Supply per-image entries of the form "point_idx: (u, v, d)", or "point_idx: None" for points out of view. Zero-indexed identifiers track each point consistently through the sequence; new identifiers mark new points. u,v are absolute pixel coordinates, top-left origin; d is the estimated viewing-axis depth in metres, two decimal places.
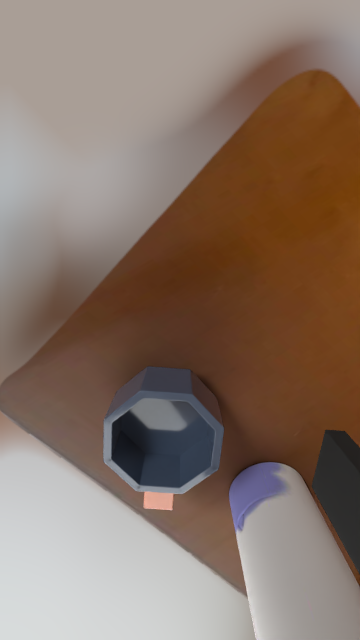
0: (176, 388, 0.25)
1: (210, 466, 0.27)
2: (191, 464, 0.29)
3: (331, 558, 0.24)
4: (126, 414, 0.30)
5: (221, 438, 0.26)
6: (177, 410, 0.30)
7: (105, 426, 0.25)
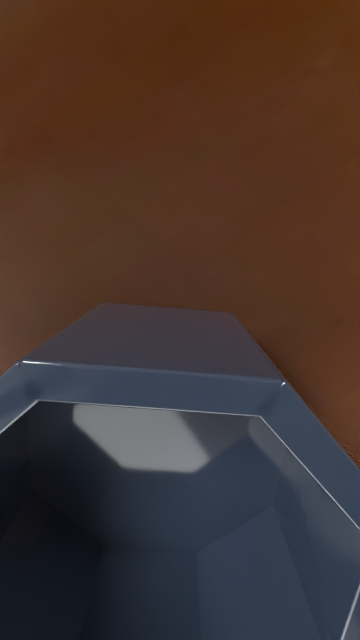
0: (200, 356, 0.06)
1: None
2: (239, 612, 0.09)
3: None
4: (42, 445, 0.10)
5: None
6: (192, 435, 0.10)
7: None
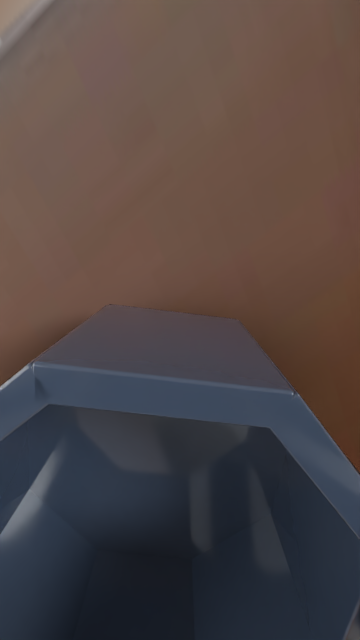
0: (211, 364, 0.05)
1: None
2: (234, 621, 0.09)
3: None
4: (41, 445, 0.10)
5: None
6: (193, 440, 0.10)
7: None
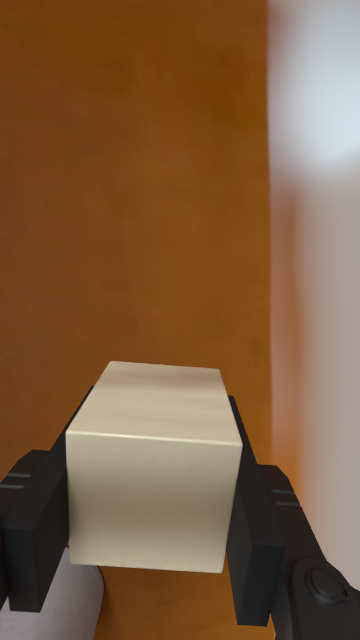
0: None
1: None
2: None
3: None
4: None
5: None
6: None
7: None
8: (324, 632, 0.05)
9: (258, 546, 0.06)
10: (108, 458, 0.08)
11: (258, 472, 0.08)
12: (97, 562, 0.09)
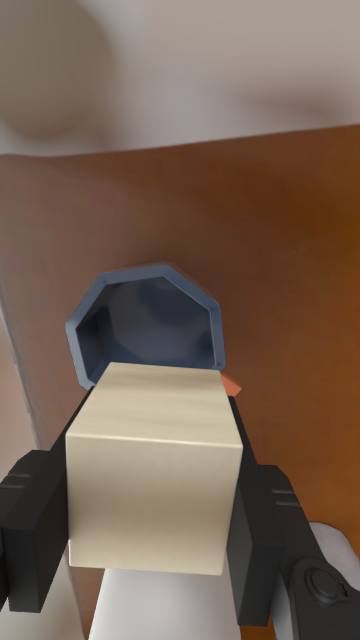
0: None
1: (210, 312, 0.19)
2: (210, 334, 0.22)
3: (228, 572, 0.20)
4: None
5: (178, 275, 0.19)
6: (152, 311, 0.24)
7: (87, 387, 0.21)
8: (324, 632, 0.05)
9: (258, 546, 0.06)
10: (108, 460, 0.08)
11: (258, 472, 0.08)
12: (97, 564, 0.09)
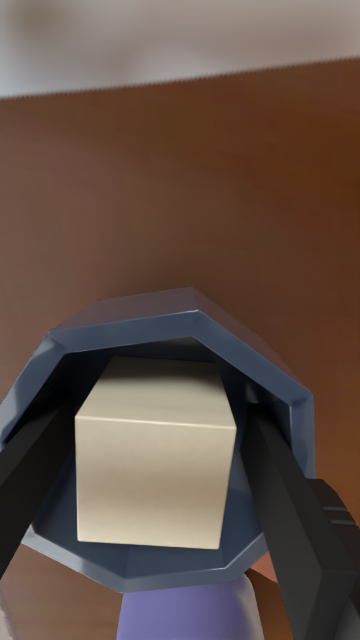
0: None
1: (291, 408, 0.09)
2: None
3: None
4: None
5: (225, 334, 0.08)
6: None
7: (34, 547, 0.10)
8: None
9: (327, 573, 0.06)
10: (114, 442, 0.09)
11: (310, 488, 0.08)
12: (103, 539, 0.10)
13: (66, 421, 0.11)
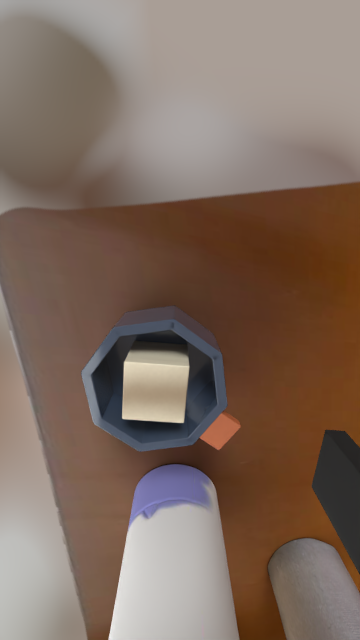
0: None
1: (212, 359, 0.21)
2: (212, 375, 0.24)
3: (229, 593, 0.22)
4: None
5: (184, 329, 0.21)
6: None
7: (100, 426, 0.23)
8: None
9: None
10: (139, 372, 0.21)
11: None
12: (133, 418, 0.22)
13: None
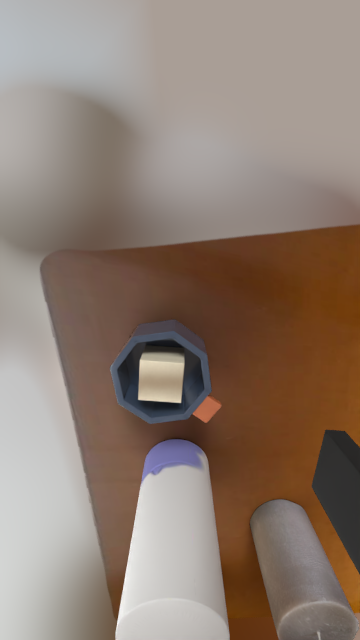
0: (126, 344, 0.31)
1: (200, 358, 0.31)
2: None
3: (213, 522, 0.32)
4: None
5: (181, 337, 0.30)
6: None
7: (123, 405, 0.32)
8: None
9: None
10: (150, 367, 0.31)
11: None
12: (146, 399, 0.32)
13: None
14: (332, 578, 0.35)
